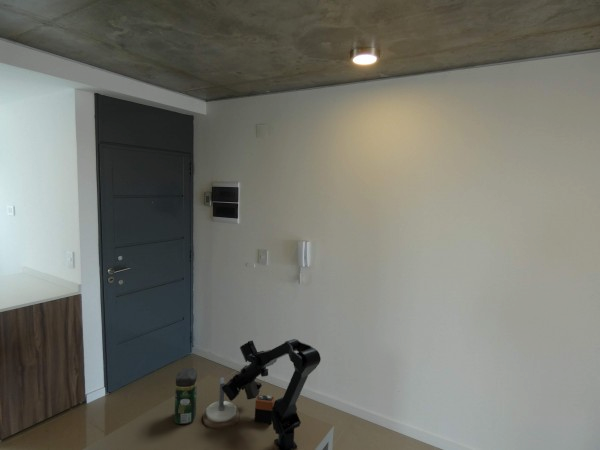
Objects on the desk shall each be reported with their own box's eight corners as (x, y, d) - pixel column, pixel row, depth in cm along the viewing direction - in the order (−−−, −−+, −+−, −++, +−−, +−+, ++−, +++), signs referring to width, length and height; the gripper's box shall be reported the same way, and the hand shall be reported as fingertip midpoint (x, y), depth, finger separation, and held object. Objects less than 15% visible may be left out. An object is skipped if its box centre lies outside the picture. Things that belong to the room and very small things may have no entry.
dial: (242, 411, 142) (243, 383, 141) (222, 425, 131) (223, 396, 131) (220, 401, 147) (221, 374, 147) (199, 414, 137) (201, 386, 137)
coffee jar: (176, 410, 142) (178, 366, 141) (196, 409, 143) (198, 365, 142) (172, 426, 133) (173, 378, 131) (193, 424, 134) (195, 377, 133)
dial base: (243, 423, 137) (243, 419, 136) (207, 432, 130) (207, 427, 130) (233, 404, 149) (233, 400, 149) (199, 411, 143) (199, 407, 142)
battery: (271, 424, 137) (272, 399, 136) (254, 422, 138) (255, 397, 137) (273, 418, 141) (274, 394, 141) (256, 416, 142) (258, 392, 141)
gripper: (253, 401, 130) (225, 422, 134) (273, 378, 147) (247, 397, 151) (235, 376, 131) (208, 398, 135) (256, 356, 149) (232, 376, 153)
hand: (225, 392), depth 144 cm, fingers closed
